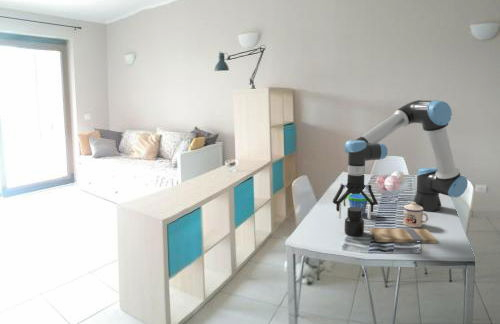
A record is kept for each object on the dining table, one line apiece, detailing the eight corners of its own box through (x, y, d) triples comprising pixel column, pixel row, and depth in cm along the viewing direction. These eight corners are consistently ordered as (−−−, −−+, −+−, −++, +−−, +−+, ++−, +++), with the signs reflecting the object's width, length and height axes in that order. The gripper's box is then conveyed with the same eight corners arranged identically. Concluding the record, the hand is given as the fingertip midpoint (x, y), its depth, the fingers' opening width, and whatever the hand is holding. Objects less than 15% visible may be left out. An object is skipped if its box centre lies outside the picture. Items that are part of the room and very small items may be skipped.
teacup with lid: (399, 224, 187) (400, 202, 185) (408, 220, 192) (409, 198, 190) (422, 230, 178) (424, 207, 175) (431, 226, 183) (433, 203, 181)
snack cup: (340, 214, 204) (340, 196, 202) (347, 209, 213) (347, 191, 211) (368, 219, 195) (369, 200, 193) (374, 213, 204) (375, 195, 202)
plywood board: (426, 232, 176) (426, 229, 176) (436, 243, 163) (437, 239, 163) (369, 231, 179) (370, 228, 178) (376, 241, 166) (376, 238, 166)
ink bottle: (361, 229, 181) (362, 206, 179) (367, 236, 172) (368, 211, 170) (341, 230, 181) (342, 206, 178) (346, 237, 172) (347, 212, 170)
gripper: (329, 175, 169) (328, 220, 172) (386, 176, 166) (383, 221, 170) (327, 172, 176) (326, 214, 180) (381, 172, 173) (379, 216, 177)
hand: (354, 218), depth 175 cm, fingers open, 13 cm apart
